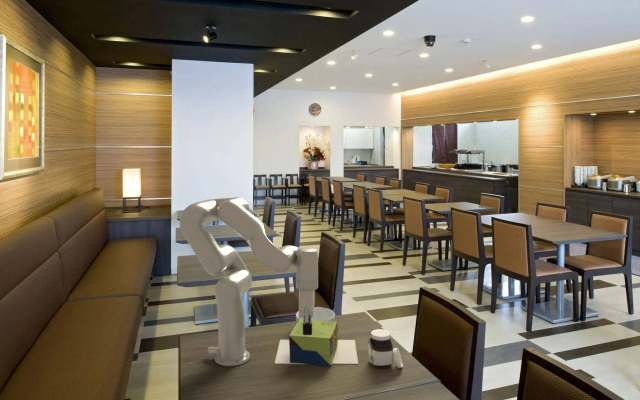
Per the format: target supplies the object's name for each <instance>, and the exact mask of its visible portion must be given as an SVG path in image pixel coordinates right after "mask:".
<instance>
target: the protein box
mask: <svg viewBox="0 0 640 400" xmlns="http://www.w3.org/2000/svg"><path fill="white" fill-rule="evenodd" d="M311 322H312V335H303V320H299V321H298V323H297V322H296V324H295V326H294V328H293V329H292V330H291V332H290V334H288V340H289V350H290V362H291V363H303V364H302V365H319V366H329V367H330V366H332V365H333V364H332V361H333V358H334V355H335V352H336V350H337V347H338V340H339V339H338V337H339V334H338V331H339V329H338V327H339V324H338V321H335V322H332V321H317V320H311Z"/></svg>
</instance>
